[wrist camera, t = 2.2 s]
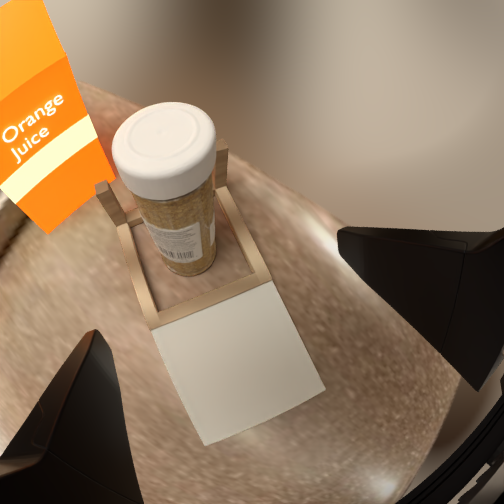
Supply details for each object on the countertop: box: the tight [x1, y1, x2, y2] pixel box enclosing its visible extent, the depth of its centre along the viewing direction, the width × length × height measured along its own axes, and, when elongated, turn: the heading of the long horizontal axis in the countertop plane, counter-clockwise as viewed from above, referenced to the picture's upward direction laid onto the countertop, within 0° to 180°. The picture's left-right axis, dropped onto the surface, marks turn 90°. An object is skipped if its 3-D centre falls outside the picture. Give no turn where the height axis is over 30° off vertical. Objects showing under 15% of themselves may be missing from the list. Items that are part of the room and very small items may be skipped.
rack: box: [94, 139, 272, 331], centre depth 20 cm, size 10×10×6 cm
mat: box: [151, 281, 326, 446], centre depth 20 cm, size 10×10×1 cm
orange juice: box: [0, 0, 115, 234], centre depth 15 cm, size 8×9×20 cm
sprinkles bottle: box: [112, 102, 216, 276], centre depth 17 cm, size 5×5×14 cm
